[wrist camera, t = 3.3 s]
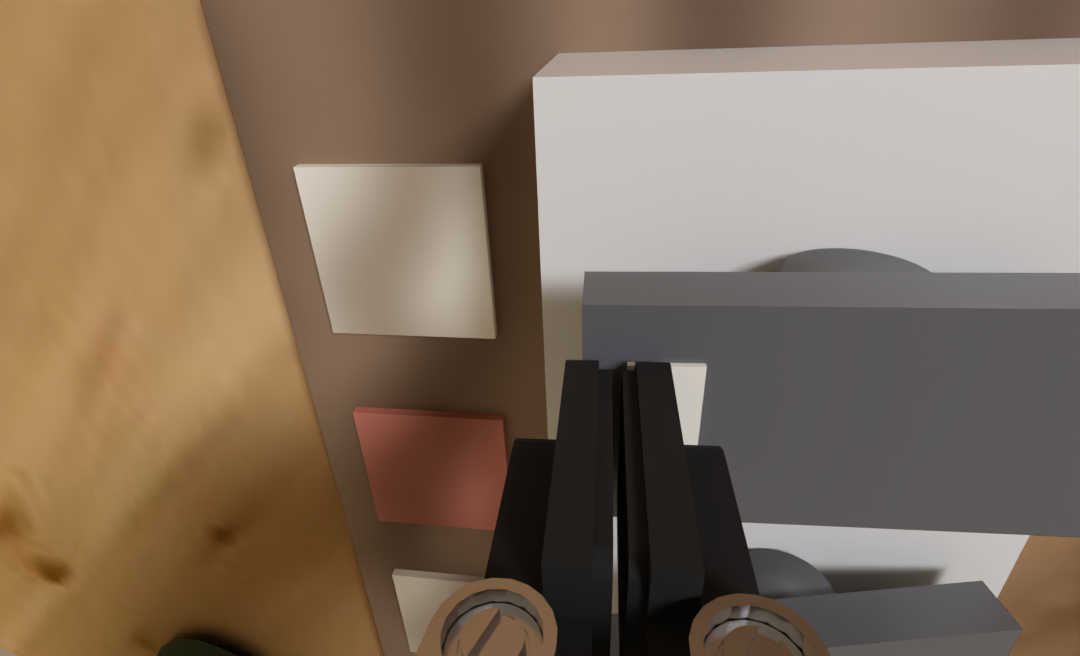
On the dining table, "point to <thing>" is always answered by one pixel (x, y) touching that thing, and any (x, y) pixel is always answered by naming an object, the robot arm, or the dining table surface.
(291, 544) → the dining table surface
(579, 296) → the switch housing
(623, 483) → the robot arm
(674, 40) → the chart board
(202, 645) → the character mug
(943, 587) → the rocker middle
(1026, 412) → the block
